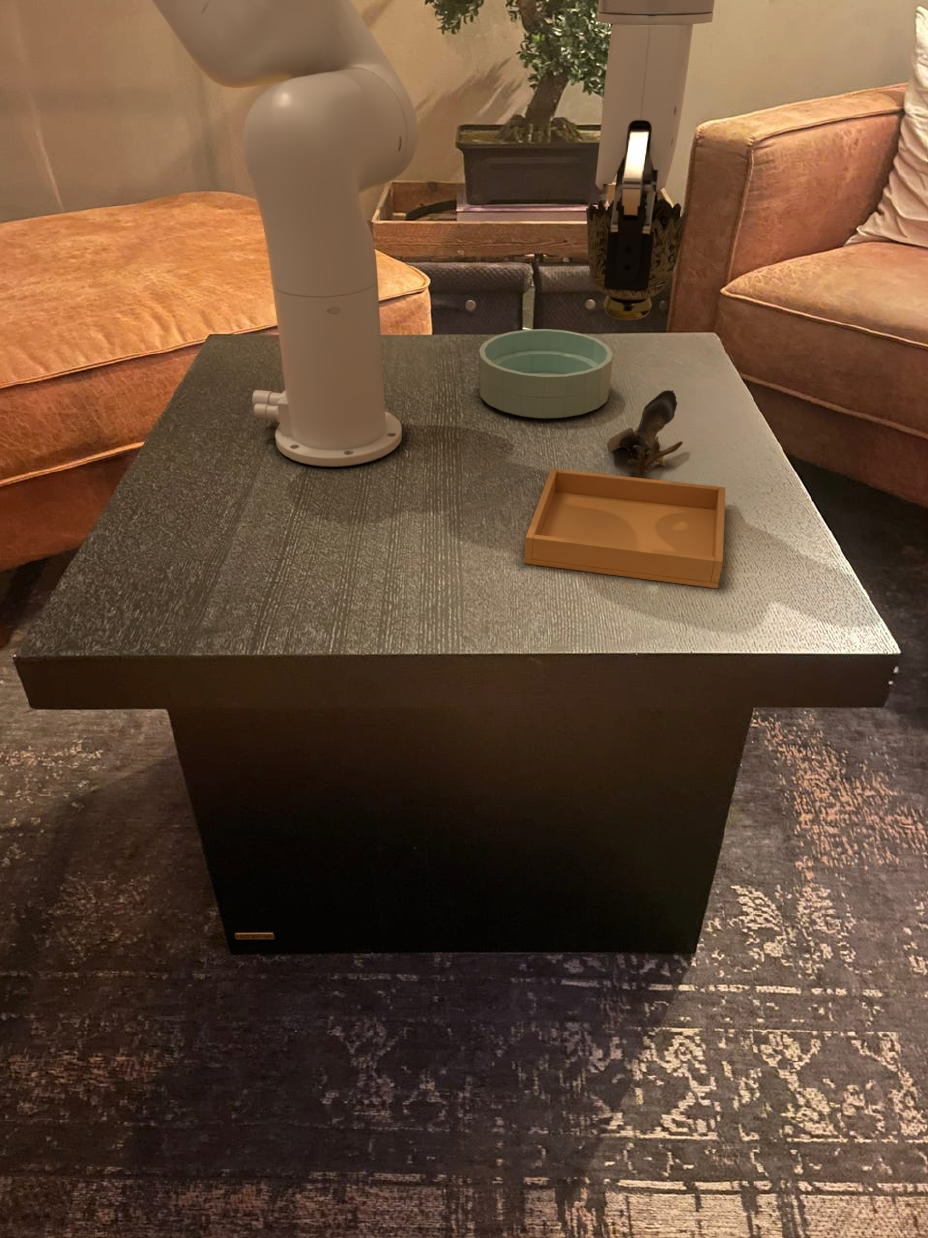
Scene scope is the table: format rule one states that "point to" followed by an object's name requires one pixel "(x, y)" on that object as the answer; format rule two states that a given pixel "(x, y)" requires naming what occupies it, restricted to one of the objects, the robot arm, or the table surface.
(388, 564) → the table surface
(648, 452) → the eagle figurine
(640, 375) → the table surface
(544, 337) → the bowl
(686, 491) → the tray
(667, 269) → the cup
